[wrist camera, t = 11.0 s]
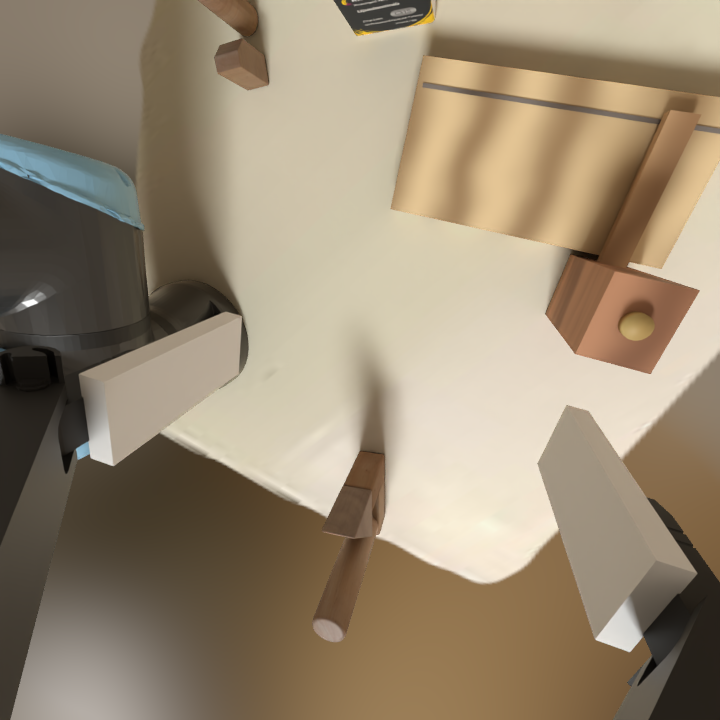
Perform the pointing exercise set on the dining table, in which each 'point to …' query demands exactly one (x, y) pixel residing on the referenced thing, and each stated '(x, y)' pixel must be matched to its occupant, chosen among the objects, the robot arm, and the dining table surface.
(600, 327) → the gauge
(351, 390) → the dining table surface
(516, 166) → the board
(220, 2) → the wood blocks
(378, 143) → the dining table surface
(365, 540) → the wooden post assembly
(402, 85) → the dining table surface
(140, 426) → the robot arm
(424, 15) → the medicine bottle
